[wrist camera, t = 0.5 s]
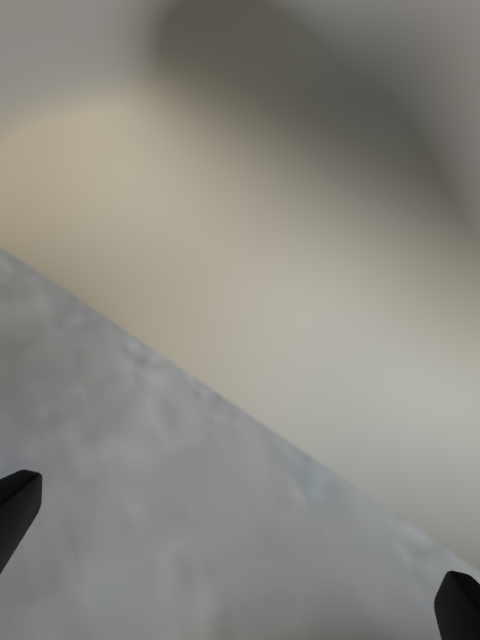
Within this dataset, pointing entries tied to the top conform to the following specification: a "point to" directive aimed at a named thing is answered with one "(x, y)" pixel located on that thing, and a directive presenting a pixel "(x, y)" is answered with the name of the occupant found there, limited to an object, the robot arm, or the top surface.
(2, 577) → the top surface
